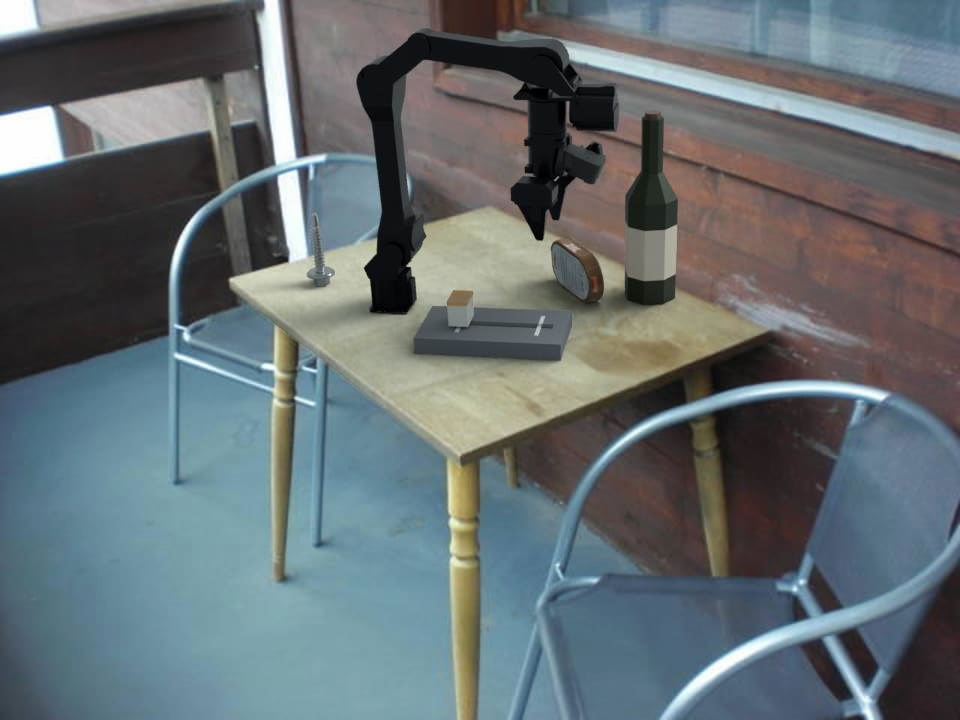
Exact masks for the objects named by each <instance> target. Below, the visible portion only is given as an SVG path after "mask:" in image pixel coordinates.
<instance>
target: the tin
mask: <svg viewBox="0 0 960 720" xmlns="http://www.w3.org/2000/svg"><path fill="white" fill-rule="evenodd" d="M550 252H551V253H550V254H551V266H552V271H553V273H554V277H555V278H556V280H557V282H558V283H559V284H560V286H561V287H563V288H564V290H566V291H567V292H568V293H570V294H571V295H572V296H573V297H575V298H576V299H577V300H578V301H580V302H581V303H583V304H584V303H585V304H588V303H591V302H596V301H600V300H601V299H602V298H603V296H604V292H605V281H604V274H603V270H602V268H601V264H600V262H599V261H598V259H597V257H596V255H594V253H593V252H592V251H591V250H589V249H588V248H586V247H585V246H583V245H582V244H581V243H580V242H578V241H577V240H575V239H574V238H573V237H571V236H566V237H564V238H560V239H557V240H554V241H553V242H552V244H551V246H550Z"/></svg>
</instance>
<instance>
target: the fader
mask: <svg viewBox="0 0 960 720" xmlns="http://www.w3.org/2000/svg"><path fill="white" fill-rule="evenodd" d="M445 302H446V306H447V311H448V326H456V327H468V326H469V324H470V322H471V320H472V318H473V316H474V307H475V306H474V290H461V289H459V290H458V289H454V290H452V291H451V293H450V295H449V297H448V299H447V300H446V301H445Z"/></svg>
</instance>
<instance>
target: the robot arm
mask: <svg viewBox="0 0 960 720" xmlns="http://www.w3.org/2000/svg"><path fill="white" fill-rule="evenodd" d="M423 61H429V62H430V61H432V62H437V63H444V64H451V65H457V66H458V65H459V66H464V67H469V68H477V69H484V70H489V71H497V72H500V73H504V74H507V75H509V76H510V77H512V78H514V79H516V80H517V81H521V82H523V83H522V85H521V88H519V89H518V90H517V91H516V92H515V93H514V95H513V97H512V99H513V100H514V101H527V106H526V107H527V109H526V110H527V136H525V138H524V139H523V147H527V159H528V160H527V161H528V162H527V164H526V165H524V174H530V175H531V174H532V176H530V175H522V176H521V177H520V178H519V179H518V180H517V181H516V182H515V183H514V184H513V185H512V186H511V187H510V201H511V202H512V203H514V205H516V206H517V207H518V209H519V211H520V213H522V214H521V215H522V216H523V217H524V219H525V222H526V223H527V225H528V227H529V229H530V232H531V233H532V235H533V237H534V238H535V240H536V241H537V242H538V241H540V242H542V241H544V240H545V233H546V227H547V223H548V222H547V220H548V214H549V215H550V217H551V220H553V221H560V219H561V215H562V211H563V208H564V203H565V198H566V195H567V192H568V189H569V188H568V187H569V185H570V184H571V183H572V182H573V181H575V179H576V178H577V179H579V180H581V181H583V183H585V184H587V185H594V184H596V182H597V180H598V179H599V178H600V176H601V173H602V171H603V168H604V165H606V160H607V158H606V157H607V155H606V154H604V151H603V144H602V143H600V142H598V141H595V140H592V141H591V142H590V143H588V145H587V146H585V147H584V145H582V144H581V145H576V144H573V135H571V133H570V132H568V130H567V129H568V127H567V126H568V121H569V124H572V127H573V128H576V130H577V132H602V133H604V132H606V133H607V132H609V133H616V132H617V130H618V126H619V118H620V102H619V97H618V92H617V87H618V84H616V82H615V83H614V82H606V83H600V84H599V83H598V84H597V83H584V80H583V78H582V77H581V75H580V74H579V73H578V71H577V70H576V69H575V67H574V66H573V65H572V63H571V62H570V54H569V51H568V49H567V48H566V46H565V45H564V43H563V42H561V41H560V40H558V39H554V38H531V39H530V38H529V39H522V40H513V41H506V40H499V39H493V38H485V37H480V36H479V37H478V36H471V35H465V34H459V33H458V34H457V33H452V32H451V33H450V32H444V31H437V30H433V29H432V28H429V27H422V28H419V29H418V30H416V31H415V32H413V33H412V34H410V35H409V36H408V38H407V39H406V41H405V42H404V43H402V44H401V45H400V46H398V47H397V48H396V49H395V50H394V51H393V52H391V53H390V54H389V55H380V56H378V57H377V58H375V59H374V60H372V61H371V62H369V63H368V64H366V65H365V66H363V67H362V68H361V69H360V70H359V72H358V73H357V75H356V79H355V80H356V81H355V82H356V90H357V92H358V96H359V99H360V100H359V101H360V103H361V106H362V108H363V111H364V112H365V113H366V115H367V117H368V119H369V121H370V123H371V130H372V131H371V132H372V138H373V139H372V140H373V147H374V156H375V164H376V171H377V172H376V173H377V183H378V191H379V198H380V200H379V201H380V209H381V215H380V218H379V224H378V229H377V233H376V235H377V236H376V253H375V254H374V255H373V256H372V258H371V259H370V260H369V261H368V262H367V263H366V264H365V265H364V267H363V270H364V273H365V275H366V277H367V279H369V283H370V284H369V285H370V293H371V294H370V296H371V305H370V307H369V308H368V310H369V312H370V313H387V314H388V313H389V314H391V313H392V314H408V313H409V311H410V310H411V309H412V307H413V306H414V305H415V303H416V302H417V299H418V296H417V285H416V284H417V283H416V277H415V276H414V275H413V273H412V271H413V270H412V266H408V265H409V264H410V263H411V262H412V260H413V259H414V258H415V257H416V255H417V254H418V252H419V251H420V250H421V248H422V247H423V244H424V241H425V239H426V238H427V234H426V232H425V228H424V222H425V218H424V216H425V215H424V214H423V213H420V214H415V212H414V209H413V208H412V207H411V203H410V195H409V193H410V192H409V185H408V176H407V167H406V157H405V146H404V138H403V137H404V136H403V129H402V128H403V127H402V120H401V119H402V112H403V107H404V102H405V97H406V87H407V75H408V74H409V73H410V72H411V71H413V70H414V69H415V68H416V67H417V66H418V65H420V64H421V63H422V62H423ZM568 102H569V105H568ZM567 107H568V111H567ZM567 113H568V115H567ZM567 119H569V120H567Z"/></svg>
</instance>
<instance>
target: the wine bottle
mask: <svg viewBox="0 0 960 720" xmlns="http://www.w3.org/2000/svg"><path fill="white" fill-rule="evenodd" d="M664 123H665V118H664V116H663V115H662V112H661V111H660V110H655V109H654V110H652V109H651V110H646V111H644V116H642V117H641V138H640V140H641V141H640V142H641V144H640V146H641V148H640V151H641V153H640V158H641V159H640V171H639V173H638V175H637V176H636V178H635V179H634V181H633V182H632V184H631V186H630V187H629V189H628V190H627V192H626V193H625V196H624V197H625V200H624V202H625V203H624V204H625V205H624V208H625V209H624V216H625V217H624V296H625V298H626V301H627V302H631V303H635V304H637V305H641V306H655V305H657V304H659V305H665V304H667V303H668V301H669V302H670V301H672V300H674V299H676V281H677V280H676V278H677V276H676V274H677V246H678V245H677V243H678V207H679V206H678V205H679V197H677V194H676V193H675V191H674V189H673V188H672V185H671V184H670V182H669V181H668V178H667V177H666V175H665V173H664V171H663V170H664V136H665V135H664V131H665V129H664V128H665V126H664V125H665V124H664ZM673 298H674V299H673ZM671 299H672V300H671Z"/></svg>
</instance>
